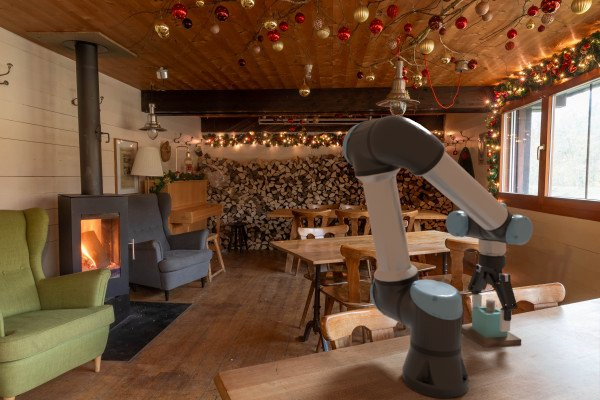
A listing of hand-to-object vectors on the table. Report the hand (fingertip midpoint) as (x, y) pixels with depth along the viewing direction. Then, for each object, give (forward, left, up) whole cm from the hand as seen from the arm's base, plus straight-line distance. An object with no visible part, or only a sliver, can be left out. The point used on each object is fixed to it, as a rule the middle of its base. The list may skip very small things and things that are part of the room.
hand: (490, 322), depth 119 cm
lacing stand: (0, 0, -5) cm, 5 cm away
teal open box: (0, 0, -3) cm, 3 cm away
